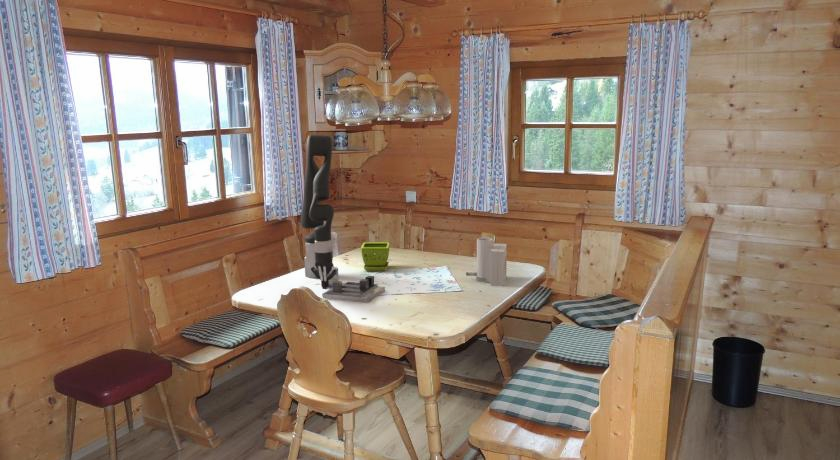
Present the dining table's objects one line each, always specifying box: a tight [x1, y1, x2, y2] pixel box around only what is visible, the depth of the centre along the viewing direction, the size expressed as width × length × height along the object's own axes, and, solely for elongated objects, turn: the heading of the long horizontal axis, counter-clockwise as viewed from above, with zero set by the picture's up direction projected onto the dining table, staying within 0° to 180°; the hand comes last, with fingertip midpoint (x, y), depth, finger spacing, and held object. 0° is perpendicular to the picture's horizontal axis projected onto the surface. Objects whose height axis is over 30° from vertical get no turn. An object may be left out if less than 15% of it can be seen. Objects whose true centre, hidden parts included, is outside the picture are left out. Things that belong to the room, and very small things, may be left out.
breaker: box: [332, 280, 343, 293], centre depth 271 cm, size 3×3×5 cm
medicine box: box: [320, 266, 340, 288], centre depth 289 cm, size 8×4×9 cm, turn 105°
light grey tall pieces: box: [465, 237, 508, 287], centre depth 293 cm, size 16×19×20 cm
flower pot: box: [360, 241, 391, 272], centre depth 318 cm, size 14×14×13 cm
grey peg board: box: [321, 275, 386, 304], centre depth 275 cm, size 22×18×7 cm
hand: (325, 288), depth 274 cm, fingers closed
